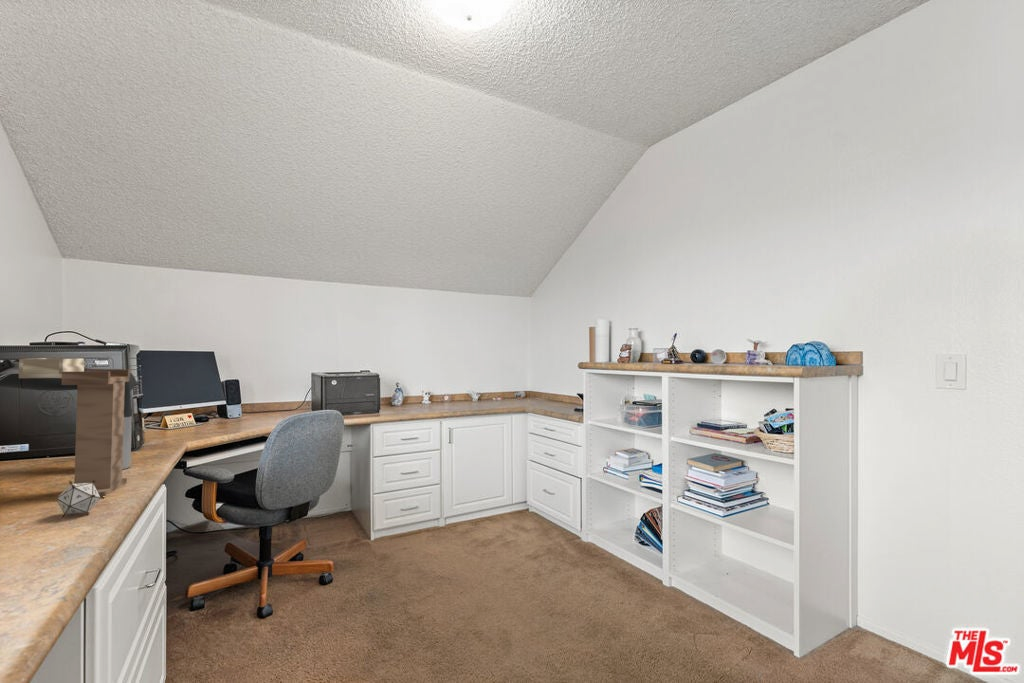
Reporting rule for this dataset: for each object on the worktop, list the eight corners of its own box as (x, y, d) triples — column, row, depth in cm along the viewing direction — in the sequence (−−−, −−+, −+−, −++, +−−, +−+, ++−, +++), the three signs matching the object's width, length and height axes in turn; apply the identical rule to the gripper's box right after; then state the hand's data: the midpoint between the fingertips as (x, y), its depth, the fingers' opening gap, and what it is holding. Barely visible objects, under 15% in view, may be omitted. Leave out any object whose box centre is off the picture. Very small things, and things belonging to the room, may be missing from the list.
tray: (4, 376, 134) (4, 358, 134) (83, 375, 140) (84, 358, 140) (-26, 378, 123) (-26, 358, 123) (62, 377, 129) (62, 359, 129)
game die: (78, 532, 115) (64, 506, 110) (52, 517, 117) (37, 490, 111) (116, 504, 122) (105, 479, 117) (91, 490, 124) (79, 464, 119)
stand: (84, 486, 141) (88, 369, 142) (126, 483, 144) (129, 369, 145) (57, 501, 127) (61, 371, 128) (104, 497, 130) (108, 371, 131)
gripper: (-91, 384, 117) (-9, 350, 123) (-48, 381, 131) (24, 350, 136) (-71, 411, 119) (9, 375, 124) (-31, 405, 132) (40, 373, 137)
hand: (16, 362), depth 130 cm, fingers open, 4 cm apart
